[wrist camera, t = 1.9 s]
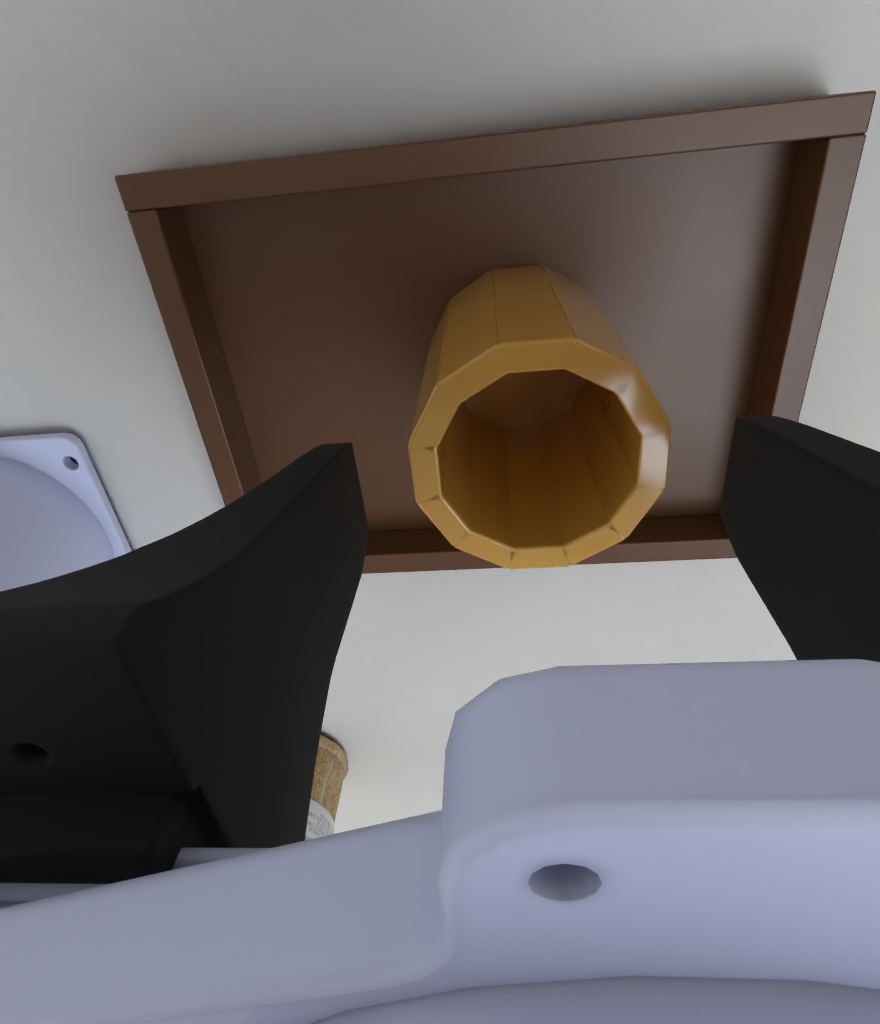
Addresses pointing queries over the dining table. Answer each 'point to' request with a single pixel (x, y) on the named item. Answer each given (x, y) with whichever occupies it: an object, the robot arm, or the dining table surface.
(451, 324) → the cup
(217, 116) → the dining table surface
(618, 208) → the tray
